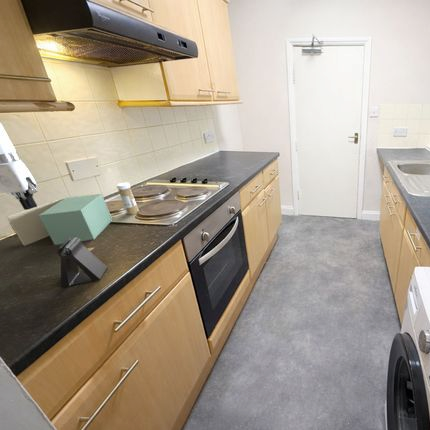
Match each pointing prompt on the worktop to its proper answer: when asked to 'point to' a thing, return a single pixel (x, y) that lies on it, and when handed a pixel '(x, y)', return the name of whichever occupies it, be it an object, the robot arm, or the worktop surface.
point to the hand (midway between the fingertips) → (31, 208)
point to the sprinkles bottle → (127, 198)
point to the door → (30, 223)
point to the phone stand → (78, 264)
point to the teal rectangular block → (76, 218)
